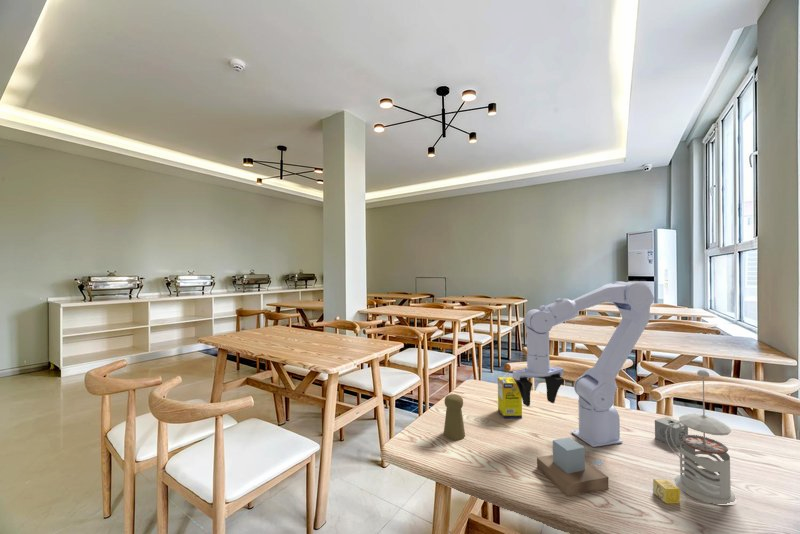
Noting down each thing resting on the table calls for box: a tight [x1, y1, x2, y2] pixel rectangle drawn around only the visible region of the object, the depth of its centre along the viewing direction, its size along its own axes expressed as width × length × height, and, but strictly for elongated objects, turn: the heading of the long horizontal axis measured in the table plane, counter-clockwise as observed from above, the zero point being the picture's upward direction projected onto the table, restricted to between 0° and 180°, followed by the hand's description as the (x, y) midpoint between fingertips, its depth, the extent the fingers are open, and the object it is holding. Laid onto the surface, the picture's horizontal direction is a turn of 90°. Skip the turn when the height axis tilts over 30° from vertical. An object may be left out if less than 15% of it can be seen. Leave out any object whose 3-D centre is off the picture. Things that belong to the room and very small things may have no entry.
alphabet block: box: [652, 478, 681, 504], centre depth 67 cm, size 3×3×3 cm
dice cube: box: [654, 416, 689, 448], centre depth 89 cm, size 5×5×5 cm
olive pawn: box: [443, 393, 466, 441], centre depth 94 cm, size 6×6×11 cm
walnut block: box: [536, 454, 610, 498], centre depth 74 cm, size 10×10×3 cm
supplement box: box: [497, 376, 523, 419], centre depth 106 cm, size 6×6×11 cm
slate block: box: [552, 437, 586, 474], centre depth 74 cm, size 4×4×5 cm
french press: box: [666, 369, 736, 505], centre depth 70 cm, size 10×12×25 cm
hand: (538, 403), depth 91 cm, fingers open, 7 cm apart
